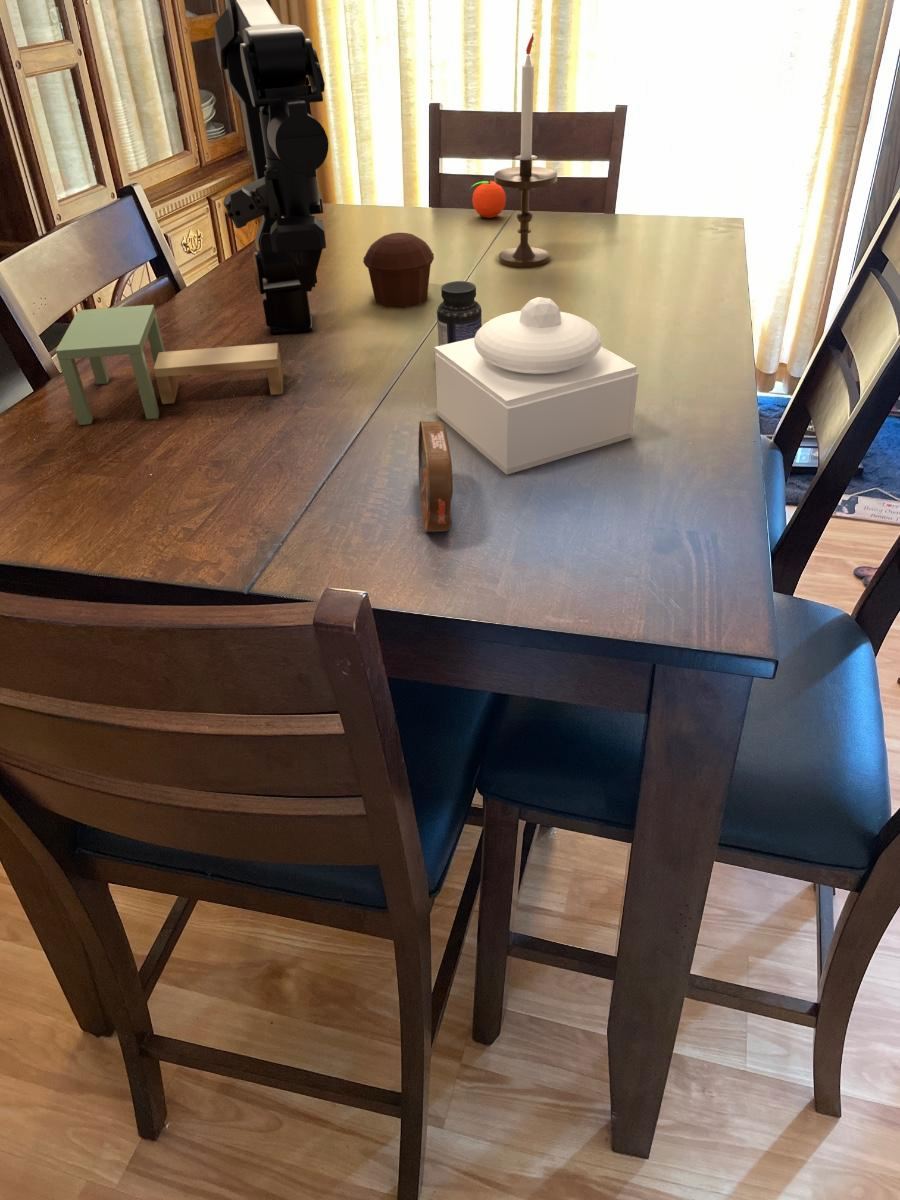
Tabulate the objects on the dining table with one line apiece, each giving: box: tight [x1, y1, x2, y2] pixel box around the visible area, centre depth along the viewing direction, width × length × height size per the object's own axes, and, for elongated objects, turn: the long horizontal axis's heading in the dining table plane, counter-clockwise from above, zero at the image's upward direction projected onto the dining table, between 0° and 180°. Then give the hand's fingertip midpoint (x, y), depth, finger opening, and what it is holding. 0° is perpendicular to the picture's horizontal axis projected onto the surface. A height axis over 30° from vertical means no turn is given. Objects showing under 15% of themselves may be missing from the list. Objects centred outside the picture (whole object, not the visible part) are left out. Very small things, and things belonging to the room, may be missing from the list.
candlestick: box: [493, 32, 558, 269], centre depth 150 cm, size 11×11×35 cm
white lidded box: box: [433, 296, 640, 476], centre depth 105 cm, size 18×18×16 cm
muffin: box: [362, 232, 435, 309], centre depth 143 cm, size 12×11×10 cm
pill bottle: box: [436, 280, 483, 346], centre depth 121 cm, size 6×6×11 cm
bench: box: [153, 342, 284, 405], centre depth 119 cm, size 16×6×5 cm, turn 98°
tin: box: [418, 420, 454, 533], centre depth 92 cm, size 15×3×8 cm, turn 5°
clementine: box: [467, 179, 507, 219], centre depth 181 cm, size 8×7×7 cm
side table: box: [55, 304, 166, 426], centre depth 116 cm, size 10×14×10 cm
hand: (307, 288), depth 113 cm, fingers closed
